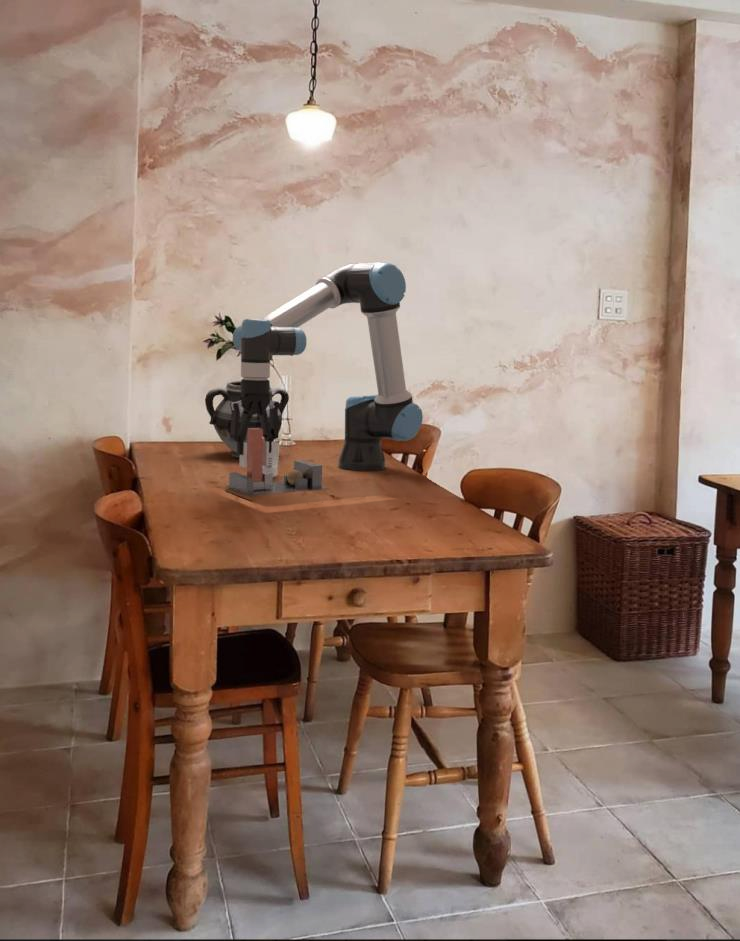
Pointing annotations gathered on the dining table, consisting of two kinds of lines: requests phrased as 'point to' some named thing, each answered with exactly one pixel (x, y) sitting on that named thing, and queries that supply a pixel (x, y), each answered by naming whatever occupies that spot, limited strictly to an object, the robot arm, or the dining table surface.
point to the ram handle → (257, 460)
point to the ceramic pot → (223, 411)
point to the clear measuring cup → (273, 458)
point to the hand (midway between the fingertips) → (254, 465)
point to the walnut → (294, 476)
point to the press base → (308, 482)
